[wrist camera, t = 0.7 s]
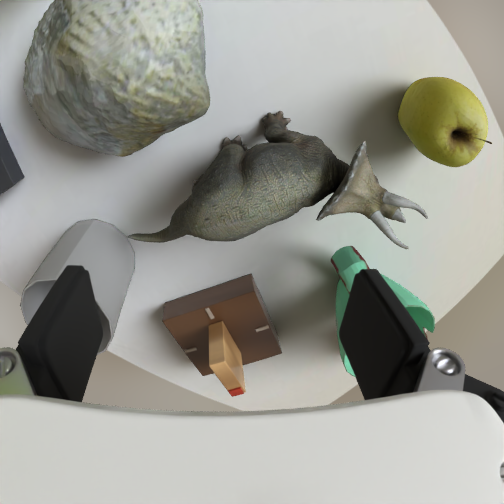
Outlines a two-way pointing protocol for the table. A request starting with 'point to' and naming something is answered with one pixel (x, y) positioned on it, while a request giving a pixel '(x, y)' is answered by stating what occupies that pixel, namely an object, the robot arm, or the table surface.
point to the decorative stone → (117, 71)
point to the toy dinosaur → (279, 188)
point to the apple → (444, 120)
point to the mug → (351, 264)
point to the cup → (96, 262)
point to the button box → (8, 165)
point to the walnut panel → (233, 316)
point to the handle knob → (226, 359)
